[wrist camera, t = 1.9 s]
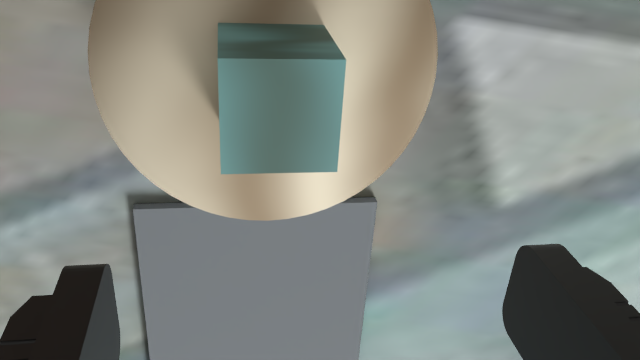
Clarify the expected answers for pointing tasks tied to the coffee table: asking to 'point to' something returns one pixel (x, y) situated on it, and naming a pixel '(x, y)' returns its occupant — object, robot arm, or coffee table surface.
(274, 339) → the mat
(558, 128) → the coffee table surface
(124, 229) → the coffee table surface
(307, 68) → the lid
